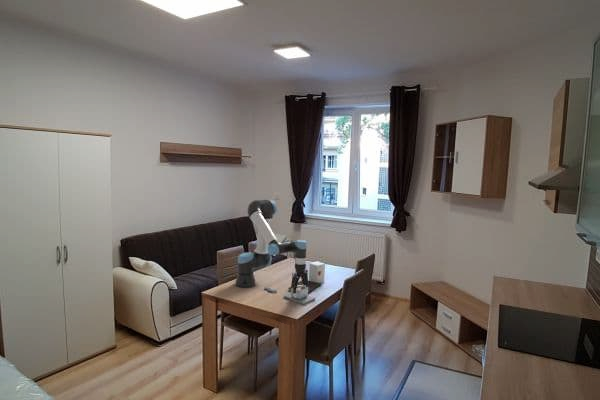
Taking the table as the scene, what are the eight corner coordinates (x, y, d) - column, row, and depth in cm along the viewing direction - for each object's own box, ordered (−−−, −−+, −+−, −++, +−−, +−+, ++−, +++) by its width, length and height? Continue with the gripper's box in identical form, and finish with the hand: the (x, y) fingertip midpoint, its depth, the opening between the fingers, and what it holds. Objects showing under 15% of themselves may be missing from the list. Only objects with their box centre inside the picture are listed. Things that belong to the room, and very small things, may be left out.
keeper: (283, 297, 234) (284, 287, 233) (295, 293, 243) (295, 282, 242) (303, 305, 222) (304, 294, 222) (315, 300, 232) (315, 289, 231)
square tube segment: (291, 296, 232) (291, 287, 232) (298, 293, 238) (299, 284, 238) (300, 299, 227) (300, 290, 226) (307, 296, 233) (308, 287, 233)
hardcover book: (287, 291, 248) (288, 288, 248) (302, 282, 268) (302, 279, 268) (307, 295, 241) (307, 292, 241) (321, 286, 261) (321, 283, 261)
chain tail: (262, 289, 249) (262, 288, 249) (266, 288, 252) (266, 286, 252) (274, 293, 241) (274, 292, 241) (278, 292, 244) (278, 290, 244)
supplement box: (316, 284, 263) (317, 265, 261) (308, 281, 269) (309, 262, 268) (324, 282, 269) (325, 263, 267) (316, 279, 275) (317, 261, 274)
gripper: (294, 267, 220) (293, 301, 222) (314, 261, 236) (313, 293, 238) (285, 265, 225) (285, 298, 227) (305, 259, 241) (305, 290, 243)
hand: (299, 295), depth 233 cm, fingers closed on square tube segment, 8 cm apart
